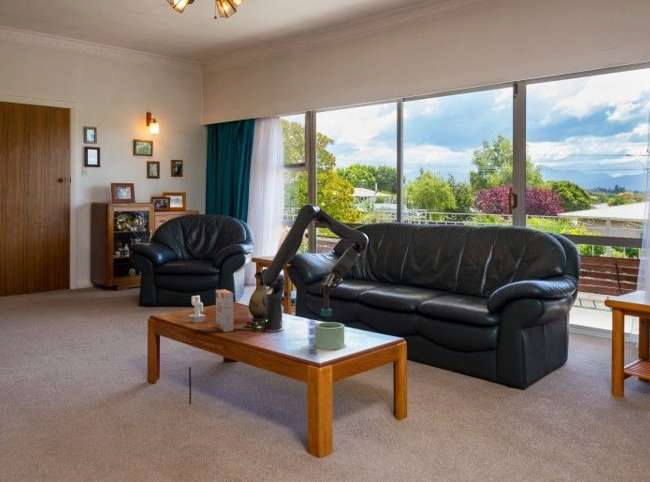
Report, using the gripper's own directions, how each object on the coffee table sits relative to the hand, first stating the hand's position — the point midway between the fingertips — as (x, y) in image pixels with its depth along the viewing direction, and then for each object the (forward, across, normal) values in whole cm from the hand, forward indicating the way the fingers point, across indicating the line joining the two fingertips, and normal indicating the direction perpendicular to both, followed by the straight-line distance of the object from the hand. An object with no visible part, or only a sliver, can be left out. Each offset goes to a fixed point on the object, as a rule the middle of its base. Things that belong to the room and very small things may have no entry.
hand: (322, 293), depth 271 cm
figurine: (+38, -87, -4) cm, 95 cm away
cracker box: (+35, -59, 0) cm, 69 cm away
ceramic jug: (+13, -72, +22) cm, 77 cm away
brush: (+6, 0, +9) cm, 11 cm away
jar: (+16, +3, +19) cm, 25 cm away
